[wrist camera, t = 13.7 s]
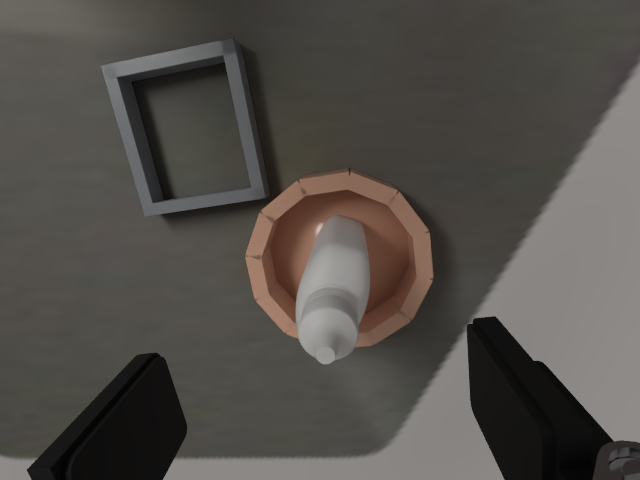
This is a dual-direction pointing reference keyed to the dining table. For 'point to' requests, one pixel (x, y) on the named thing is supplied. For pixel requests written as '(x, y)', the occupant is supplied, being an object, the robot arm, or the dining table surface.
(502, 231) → the dining table surface
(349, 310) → the eye dropper bottle
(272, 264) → the bowl
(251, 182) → the open rectangular frame
